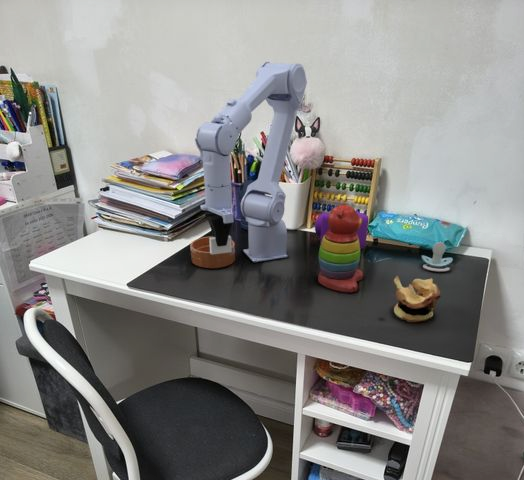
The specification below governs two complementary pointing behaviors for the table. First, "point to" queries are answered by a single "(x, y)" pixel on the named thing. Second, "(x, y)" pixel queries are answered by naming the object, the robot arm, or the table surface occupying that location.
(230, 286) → the table surface
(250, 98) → the robot arm
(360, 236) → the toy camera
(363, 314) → the table surface
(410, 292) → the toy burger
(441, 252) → the pacifier
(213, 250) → the eraser
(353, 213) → the stacking bear
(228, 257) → the bowl
